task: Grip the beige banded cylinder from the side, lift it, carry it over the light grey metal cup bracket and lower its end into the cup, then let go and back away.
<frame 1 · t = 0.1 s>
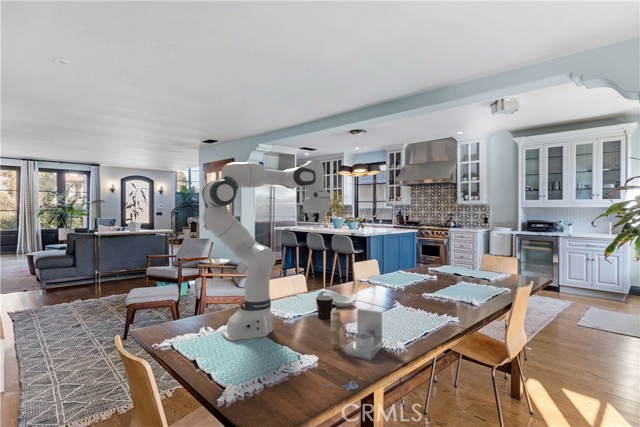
hand: (315, 222, 169), 48 cm above the table, tool pointing down, fingers open, 8 cm apart
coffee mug: (325, 316, 173), on the table
beige banded cylinder: (335, 347, 136), on the table
spoon rest: (334, 304, 195), on the table
cup bracket: (363, 351, 132), on the table
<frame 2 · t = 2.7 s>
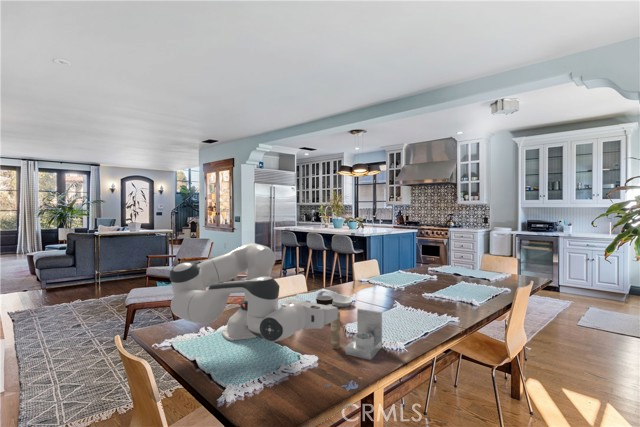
hand: (319, 304, 125), 20 cm above the table, tool horizontal, fingers open, 8 cm apart
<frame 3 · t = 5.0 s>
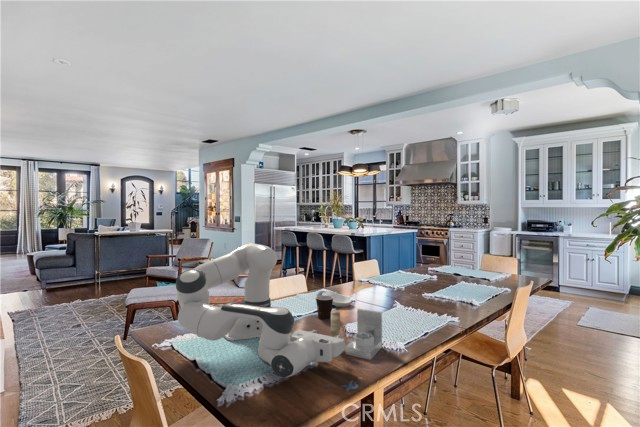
hand: (327, 334, 129), 8 cm above the table, tool horizontal, fingers open, 8 cm apart
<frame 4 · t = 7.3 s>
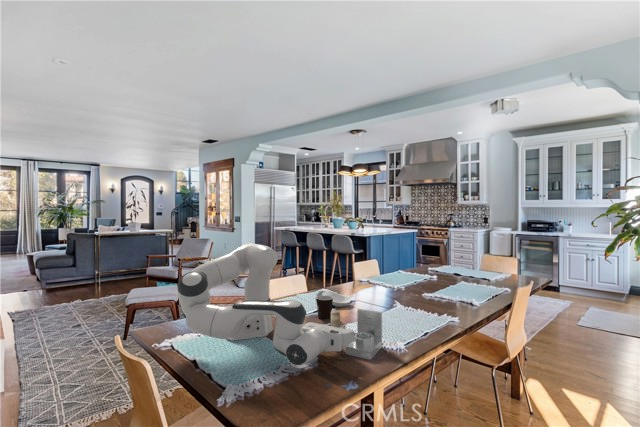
hand: (336, 326, 136), 8 cm above the table, tool horizontal, fingers closed on beige banded cylinder, 4 cm apart
beige banded cylinder: (335, 347, 136), on the table, touching gripper
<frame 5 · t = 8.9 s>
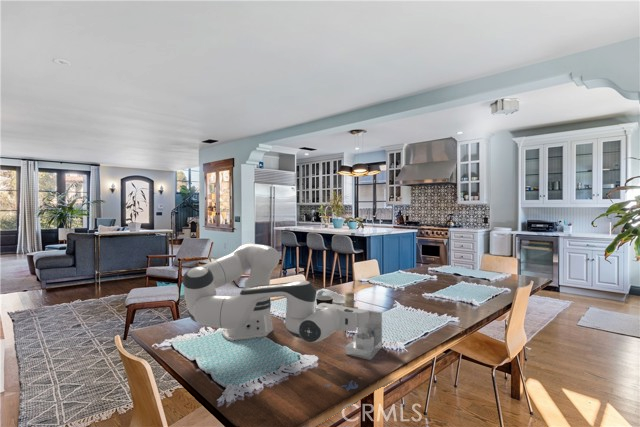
hand: (350, 307, 132), 17 cm above the table, tool horizontal, fingers closed on beige banded cylinder, 4 cm apart
beige banded cylinder: (349, 329, 131), point 9 cm above the table, touching gripper
when the fingers open (12 cm above the table, at t = 10.7 s): beige banded cylinder drops 1 cm, resting on cup bracket.
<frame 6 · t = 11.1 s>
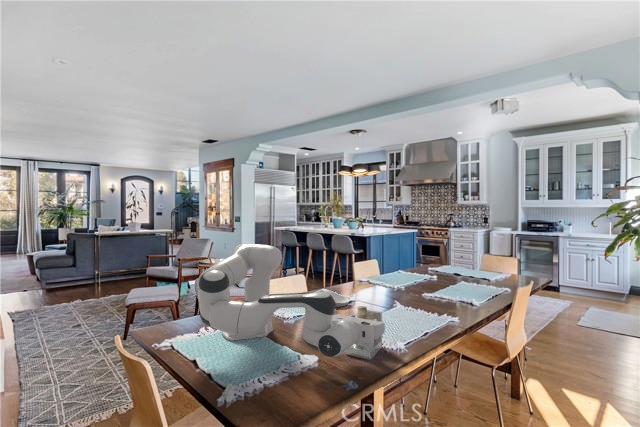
hand: (364, 318, 132), 12 cm above the table, tool horizontal, fingers open, 8 cm apart
beige banded cylinder: (363, 343, 131), point 3 cm above the table, touching cup bracket
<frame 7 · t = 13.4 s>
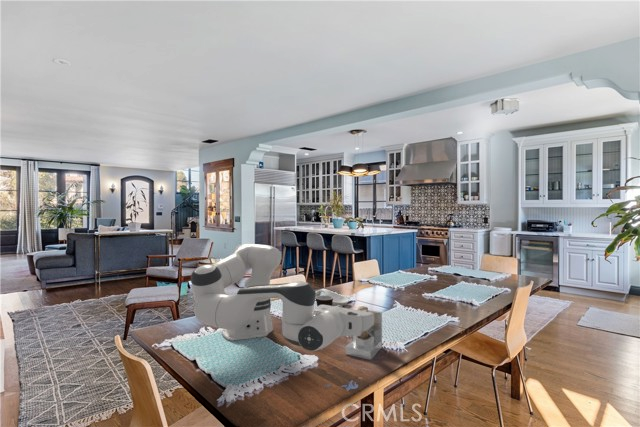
hand: (352, 309, 120), 20 cm above the table, tool horizontal, fingers open, 8 cm apart
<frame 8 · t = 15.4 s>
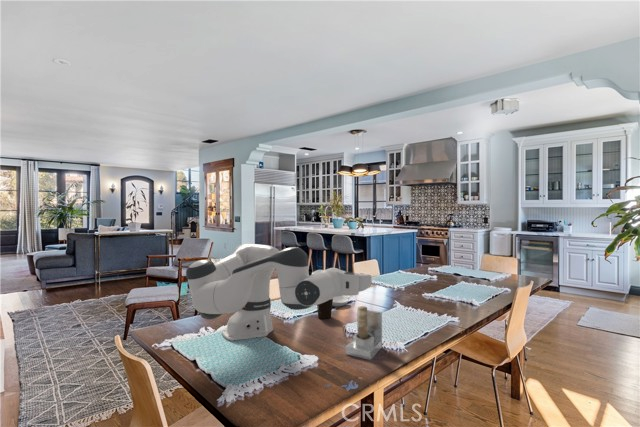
hand: (350, 274, 120), 32 cm above the table, tool horizontal, fingers open, 8 cm apart
at the end: beige banded cylinder 0.1 cm off-centre on the cup bracket, point 3.0 cm above the cup bracket's base; beige banded cylinder tilted 1°; the gripper is holding nothing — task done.
